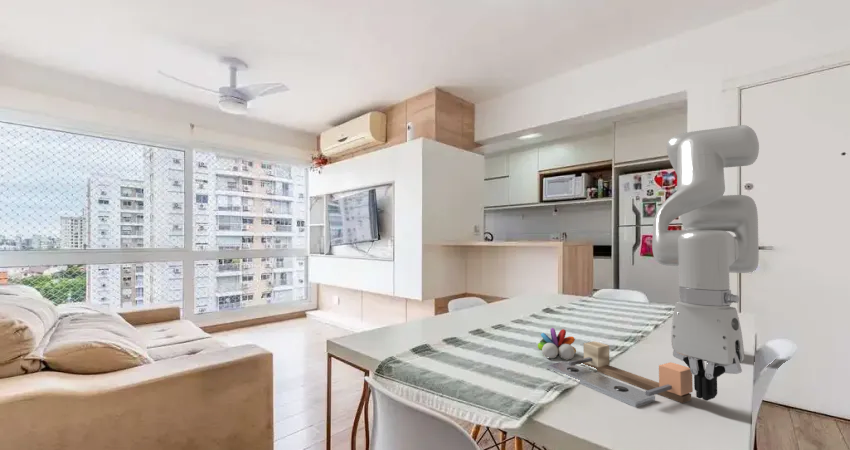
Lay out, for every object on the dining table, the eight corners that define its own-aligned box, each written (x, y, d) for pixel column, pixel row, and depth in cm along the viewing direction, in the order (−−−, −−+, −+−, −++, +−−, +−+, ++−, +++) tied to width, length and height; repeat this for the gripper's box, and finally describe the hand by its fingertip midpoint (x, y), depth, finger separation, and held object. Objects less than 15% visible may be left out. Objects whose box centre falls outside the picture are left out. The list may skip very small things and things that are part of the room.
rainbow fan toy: (579, 362, 93) (579, 333, 94) (539, 359, 95) (539, 331, 95) (572, 352, 102) (572, 325, 102) (536, 349, 104) (535, 323, 104)
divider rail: (588, 362, 93) (587, 339, 93) (692, 399, 72) (692, 370, 72) (556, 369, 88) (556, 345, 88) (658, 411, 67) (658, 380, 67)
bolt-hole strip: (565, 365, 91) (565, 360, 91) (655, 400, 71) (655, 395, 71) (547, 369, 88) (546, 364, 88) (635, 407, 68) (635, 401, 69)
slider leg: (671, 384, 75) (670, 362, 75) (692, 391, 72) (692, 368, 72) (637, 395, 70) (636, 371, 70) (658, 403, 67) (657, 378, 67)
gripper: (764, 302, 64) (767, 410, 63) (673, 290, 77) (674, 379, 76) (742, 306, 60) (745, 420, 60) (651, 293, 73) (652, 386, 73)
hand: (705, 397), depth 68 cm, fingers closed
